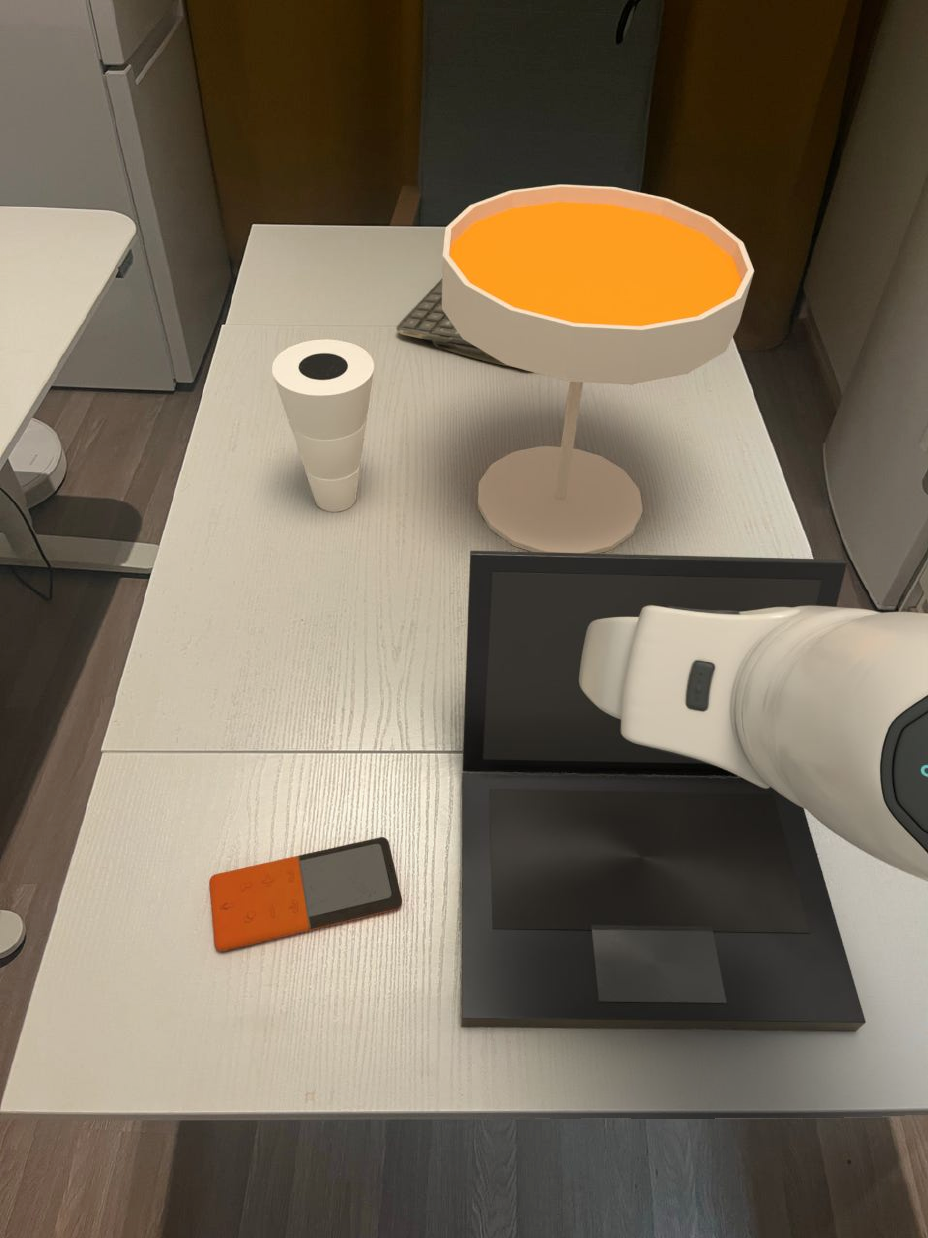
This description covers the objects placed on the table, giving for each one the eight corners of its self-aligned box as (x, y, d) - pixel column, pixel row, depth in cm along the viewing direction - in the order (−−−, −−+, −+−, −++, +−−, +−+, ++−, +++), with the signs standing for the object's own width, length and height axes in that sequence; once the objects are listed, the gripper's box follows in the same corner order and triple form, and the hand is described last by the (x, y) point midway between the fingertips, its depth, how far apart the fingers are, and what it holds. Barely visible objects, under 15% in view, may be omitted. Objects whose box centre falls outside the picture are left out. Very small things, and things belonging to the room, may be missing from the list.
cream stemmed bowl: (523, 401, 122) (547, 161, 99) (722, 487, 111) (802, 239, 88) (386, 515, 105) (376, 257, 82) (605, 629, 94) (665, 369, 71)
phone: (207, 872, 73) (387, 832, 76) (209, 880, 74) (387, 840, 77) (213, 949, 69) (403, 903, 72) (216, 955, 70) (404, 910, 73)
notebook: (856, 1031, 68) (866, 1022, 66) (461, 1027, 67) (461, 1017, 65) (788, 790, 82) (795, 778, 80) (461, 784, 81) (462, 772, 79)
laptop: (620, 283, 145) (632, 219, 137) (555, 383, 125) (564, 314, 117) (476, 250, 151) (479, 186, 143) (392, 339, 131) (390, 271, 123)
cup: (398, 493, 108) (394, 362, 95) (339, 541, 102) (327, 407, 89) (332, 459, 112) (319, 328, 99) (271, 503, 106) (250, 370, 93)
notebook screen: (847, 563, 71) (843, 559, 72) (470, 554, 70) (470, 550, 71) (795, 778, 80) (791, 772, 81) (462, 772, 79) (462, 766, 80)
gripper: (1065, 672, 40) (916, 649, 54) (613, 599, 40) (581, 595, 54) (1038, 809, 40) (897, 751, 54) (589, 735, 41) (564, 697, 54)
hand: (736, 672), depth 54 cm, fingers closed
